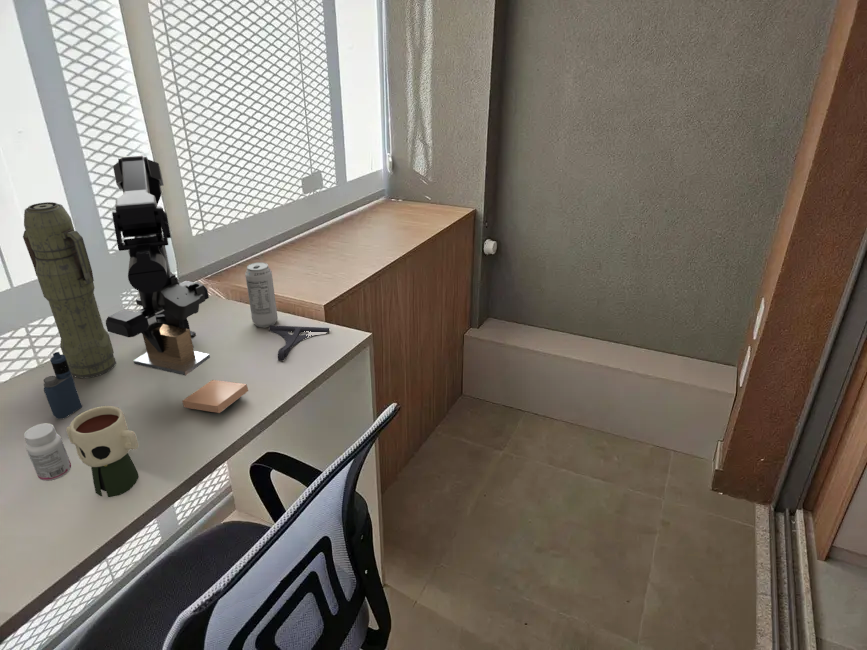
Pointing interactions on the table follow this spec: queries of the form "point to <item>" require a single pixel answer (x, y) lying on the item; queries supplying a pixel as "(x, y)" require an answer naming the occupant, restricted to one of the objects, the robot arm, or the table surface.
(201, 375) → the table surface
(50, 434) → the pill bottle
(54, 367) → the vaping device
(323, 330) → the bracket
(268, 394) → the table surface
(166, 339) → the block on grey plate
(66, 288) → the thermos
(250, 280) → the energy drink can
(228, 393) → the tile
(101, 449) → the character mug
